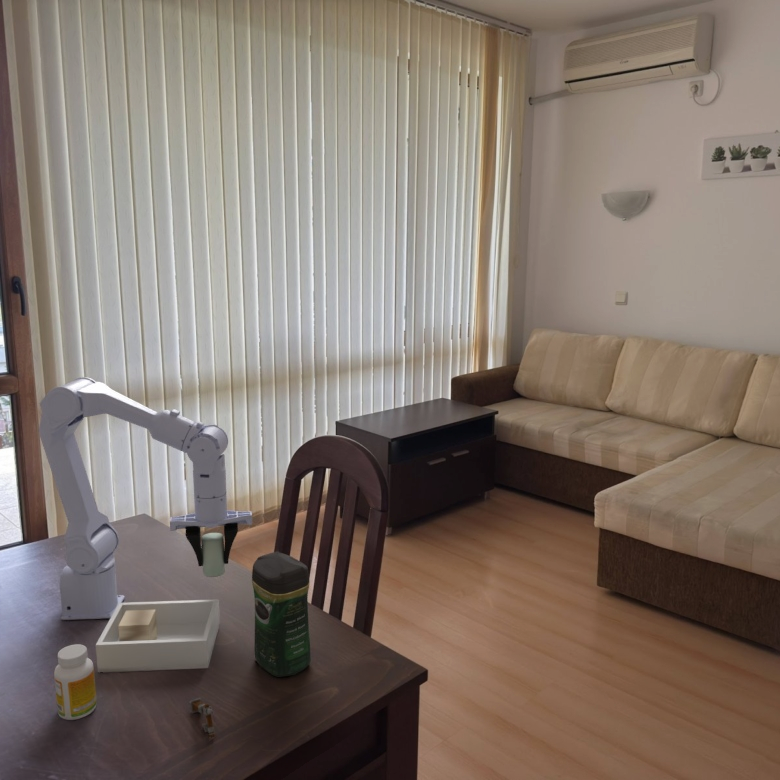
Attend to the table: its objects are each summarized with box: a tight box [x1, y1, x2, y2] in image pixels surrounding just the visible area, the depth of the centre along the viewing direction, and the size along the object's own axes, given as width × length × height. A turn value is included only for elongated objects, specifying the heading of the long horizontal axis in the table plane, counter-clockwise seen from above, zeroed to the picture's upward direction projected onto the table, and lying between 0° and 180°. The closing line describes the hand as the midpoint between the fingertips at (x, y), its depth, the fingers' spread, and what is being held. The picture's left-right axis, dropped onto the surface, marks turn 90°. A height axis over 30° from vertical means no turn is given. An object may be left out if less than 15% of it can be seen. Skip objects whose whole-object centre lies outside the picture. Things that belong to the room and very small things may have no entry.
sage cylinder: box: [201, 532, 226, 578], centre depth 133 cm, size 4×4×7 cm
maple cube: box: [118, 610, 157, 641], centre depth 123 cm, size 5×5×5 cm
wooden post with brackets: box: [189, 697, 216, 739], centre depth 105 cm, size 2×8×4 cm, turn 31°
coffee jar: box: [251, 550, 312, 678], centre depth 119 cm, size 10×8×19 cm
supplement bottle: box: [53, 643, 98, 721], centre depth 107 cm, size 5×5×10 cm
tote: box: [95, 598, 221, 674], centre depth 124 cm, size 18×14×5 cm
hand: (213, 562), depth 133 cm, fingers closed on sage cylinder, 4 cm apart
